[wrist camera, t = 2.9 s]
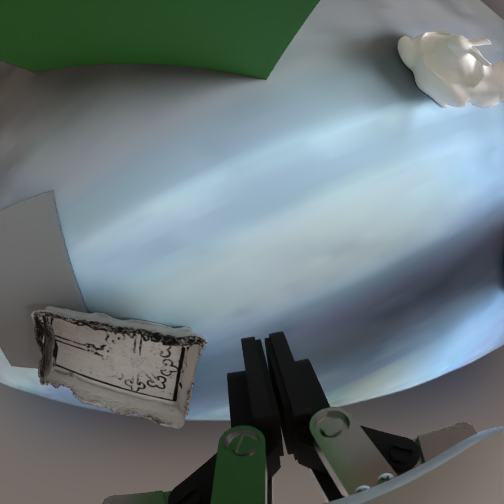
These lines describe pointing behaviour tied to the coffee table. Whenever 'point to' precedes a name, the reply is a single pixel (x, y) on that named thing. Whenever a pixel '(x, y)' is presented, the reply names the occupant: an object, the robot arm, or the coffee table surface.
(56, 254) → the mat
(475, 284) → the coffee table surface
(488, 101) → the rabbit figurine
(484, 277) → the coffee table surface
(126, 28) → the hardback book
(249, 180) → the coffee table surface
